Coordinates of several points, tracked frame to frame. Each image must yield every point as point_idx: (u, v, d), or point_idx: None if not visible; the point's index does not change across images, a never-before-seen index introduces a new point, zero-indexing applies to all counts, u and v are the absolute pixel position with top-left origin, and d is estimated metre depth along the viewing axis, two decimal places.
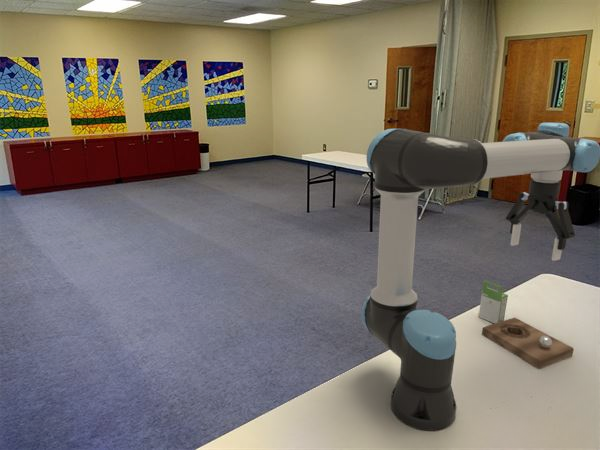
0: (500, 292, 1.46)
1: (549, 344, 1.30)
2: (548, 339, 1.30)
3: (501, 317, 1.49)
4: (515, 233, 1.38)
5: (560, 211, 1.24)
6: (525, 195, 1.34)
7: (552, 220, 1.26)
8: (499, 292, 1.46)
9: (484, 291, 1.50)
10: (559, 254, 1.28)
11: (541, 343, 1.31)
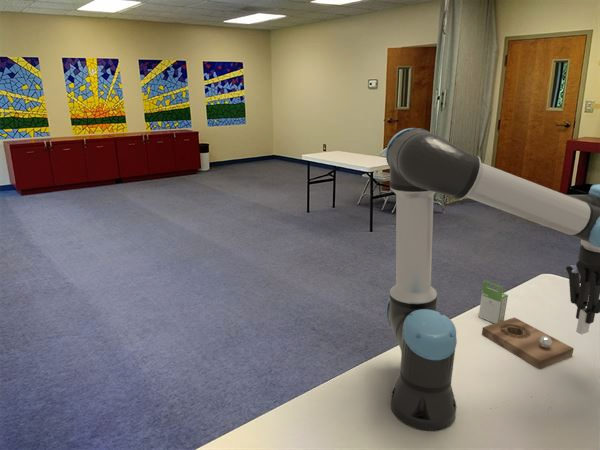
0: (500, 292, 1.46)
1: (549, 344, 1.30)
2: (548, 339, 1.30)
3: (501, 317, 1.49)
4: None
5: None
6: (573, 267, 1.20)
7: (592, 293, 1.16)
8: (499, 292, 1.46)
9: (484, 291, 1.50)
10: (587, 327, 1.20)
11: (541, 343, 1.31)
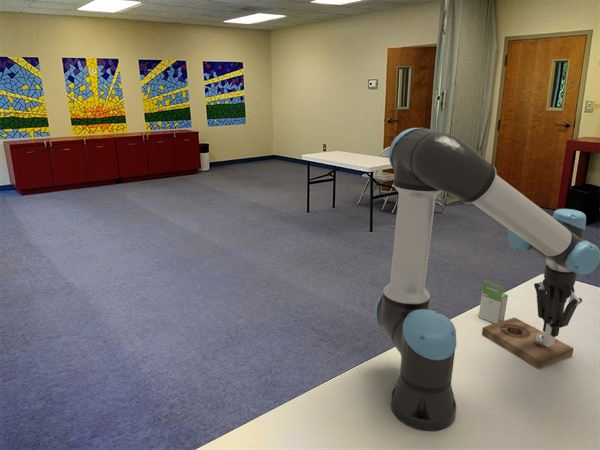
0: (500, 292, 1.46)
1: (543, 337, 1.31)
2: (540, 334, 1.33)
3: (501, 317, 1.49)
4: None
5: (569, 306, 1.22)
6: (540, 284, 1.30)
7: (556, 309, 1.26)
8: (499, 292, 1.46)
9: (484, 291, 1.50)
10: (553, 340, 1.30)
11: (537, 340, 1.32)
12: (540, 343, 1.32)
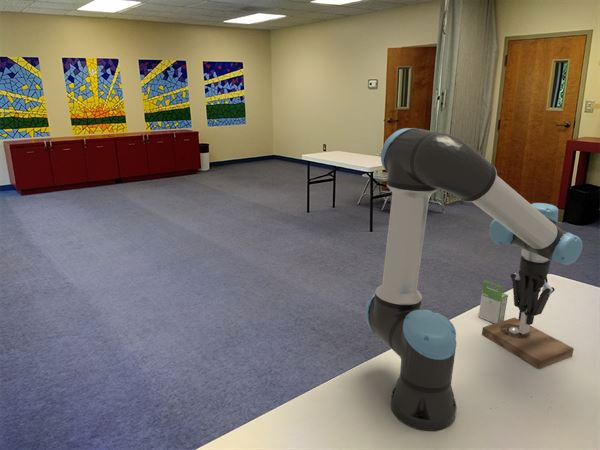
0: (500, 292, 1.46)
1: (517, 333, 1.40)
2: (514, 329, 1.40)
3: (501, 317, 1.49)
4: None
5: (542, 294, 1.29)
6: (516, 274, 1.37)
7: (531, 298, 1.32)
8: (499, 292, 1.46)
9: (484, 291, 1.50)
10: (528, 327, 1.37)
11: None
12: None
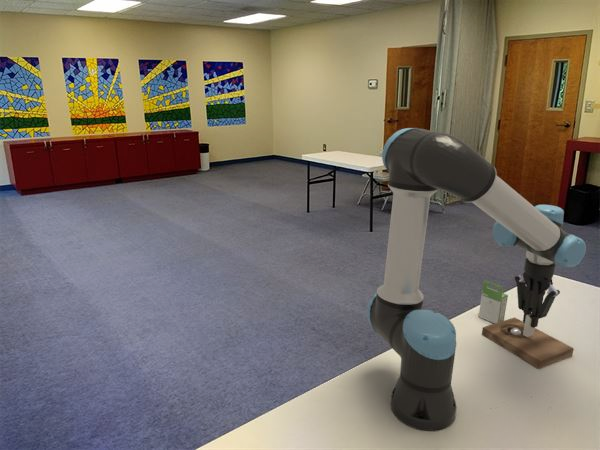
0: (500, 292, 1.46)
1: None
2: (518, 332, 1.39)
3: (501, 317, 1.49)
4: None
5: (548, 297, 1.27)
6: (520, 276, 1.35)
7: (536, 300, 1.31)
8: (499, 292, 1.46)
9: (484, 291, 1.50)
10: (532, 330, 1.35)
11: None
12: None
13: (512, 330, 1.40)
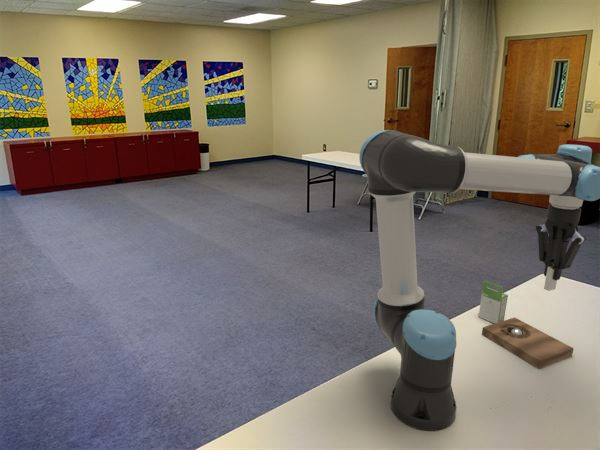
0: (500, 292, 1.46)
1: None
2: (519, 334, 1.39)
3: (501, 317, 1.49)
4: None
5: (573, 245, 1.18)
6: (542, 226, 1.26)
7: (559, 250, 1.21)
8: (499, 292, 1.46)
9: (484, 291, 1.50)
10: (554, 284, 1.26)
11: None
12: None
13: (513, 331, 1.40)
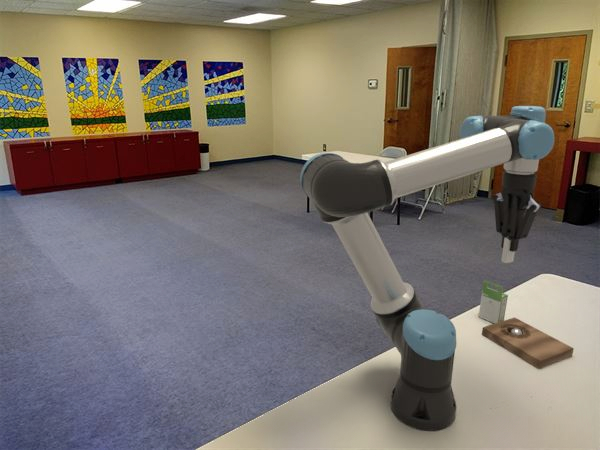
0: (500, 292, 1.46)
1: None
2: (519, 333, 1.39)
3: (501, 317, 1.49)
4: None
5: (528, 212, 1.11)
6: (498, 194, 1.19)
7: (515, 219, 1.15)
8: (499, 292, 1.46)
9: (484, 291, 1.50)
10: (512, 256, 1.19)
11: None
12: None
13: (513, 330, 1.40)
